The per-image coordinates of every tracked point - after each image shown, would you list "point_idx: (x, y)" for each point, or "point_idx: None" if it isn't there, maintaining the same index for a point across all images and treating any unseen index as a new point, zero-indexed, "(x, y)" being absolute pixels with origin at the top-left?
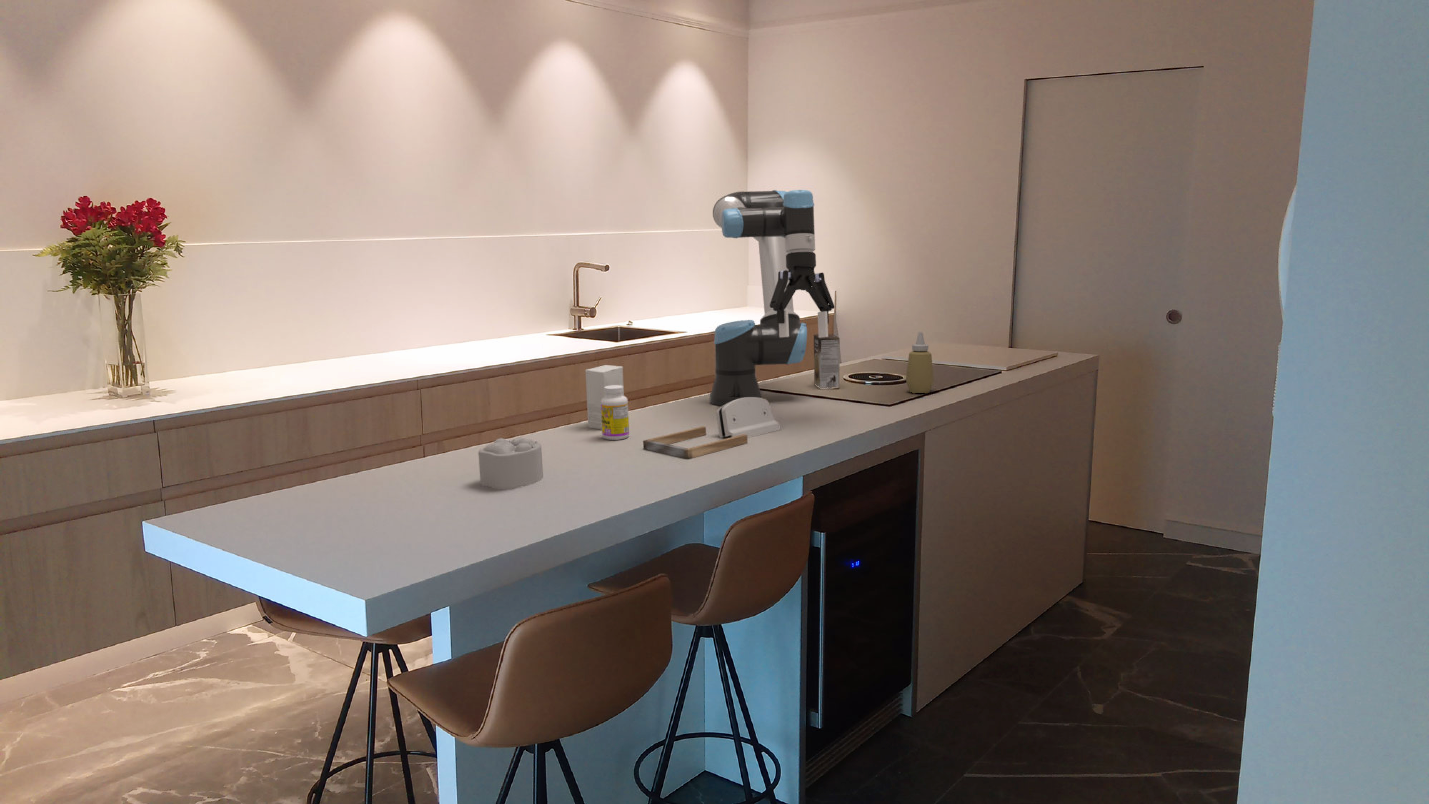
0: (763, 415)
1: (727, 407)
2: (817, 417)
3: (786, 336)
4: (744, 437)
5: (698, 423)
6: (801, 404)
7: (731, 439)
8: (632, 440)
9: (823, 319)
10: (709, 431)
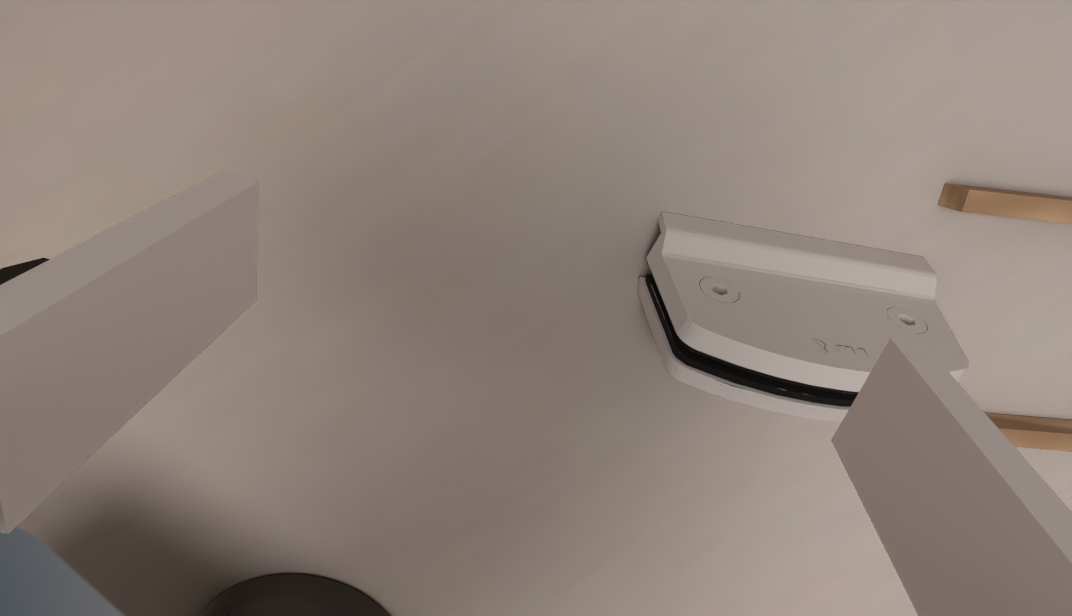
0: (729, 284)
1: (956, 366)
2: (342, 216)
3: (922, 353)
4: (981, 190)
5: (709, 538)
6: (154, 433)
7: (1063, 199)
8: None
9: (105, 318)
10: (812, 429)
